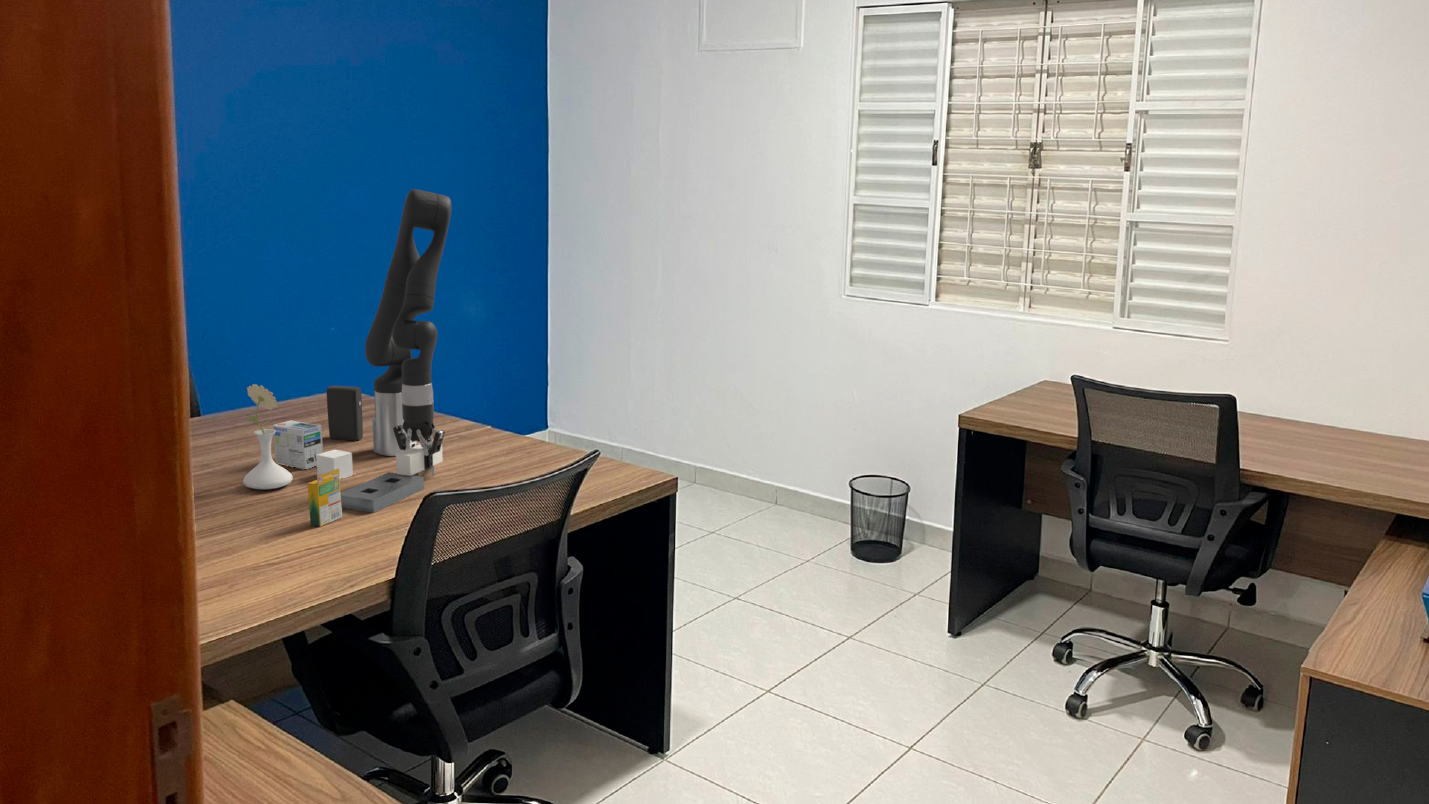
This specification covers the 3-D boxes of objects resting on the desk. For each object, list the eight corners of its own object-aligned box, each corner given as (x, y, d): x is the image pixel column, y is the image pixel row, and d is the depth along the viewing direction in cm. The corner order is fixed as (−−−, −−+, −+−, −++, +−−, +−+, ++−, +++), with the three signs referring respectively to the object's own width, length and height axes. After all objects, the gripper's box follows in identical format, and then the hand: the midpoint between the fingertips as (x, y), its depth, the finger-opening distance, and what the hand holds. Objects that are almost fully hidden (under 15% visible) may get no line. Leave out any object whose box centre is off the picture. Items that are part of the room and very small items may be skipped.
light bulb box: (324, 464, 299) (322, 424, 296) (305, 470, 293) (303, 429, 290) (293, 458, 303) (291, 419, 301) (274, 464, 297) (271, 424, 295)
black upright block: (365, 438, 324) (362, 386, 321) (358, 441, 321) (356, 389, 317) (335, 436, 326) (332, 384, 323) (328, 439, 322) (325, 387, 319)
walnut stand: (418, 483, 284) (418, 471, 283) (408, 482, 285) (407, 469, 284) (432, 477, 289) (432, 465, 289) (422, 475, 290) (421, 463, 290)
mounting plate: (373, 512, 262) (373, 500, 261) (337, 507, 265) (336, 494, 264) (424, 488, 280) (423, 476, 279) (389, 483, 283) (388, 472, 282)
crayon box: (332, 515, 259) (329, 466, 256) (342, 517, 258) (340, 468, 255) (309, 525, 252) (306, 474, 250) (320, 527, 251) (317, 476, 249)
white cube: (334, 481, 284) (333, 458, 283) (317, 477, 287) (316, 454, 286) (353, 475, 290) (351, 452, 288) (335, 472, 292) (334, 449, 291)
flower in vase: (301, 487, 279) (295, 386, 274) (255, 496, 271) (248, 393, 266) (277, 475, 288) (271, 378, 282) (232, 484, 280) (224, 384, 275)
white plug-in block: (411, 486, 280) (409, 452, 278) (397, 484, 281) (395, 451, 279) (443, 471, 293) (441, 439, 291) (429, 469, 294) (428, 437, 292)
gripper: (384, 401, 281) (387, 468, 285) (433, 406, 277) (436, 475, 281) (402, 395, 288) (404, 460, 292) (451, 400, 284) (453, 467, 287)
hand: (420, 467), depth 286 cm, fingers closed on white plug-in block, 4 cm apart
